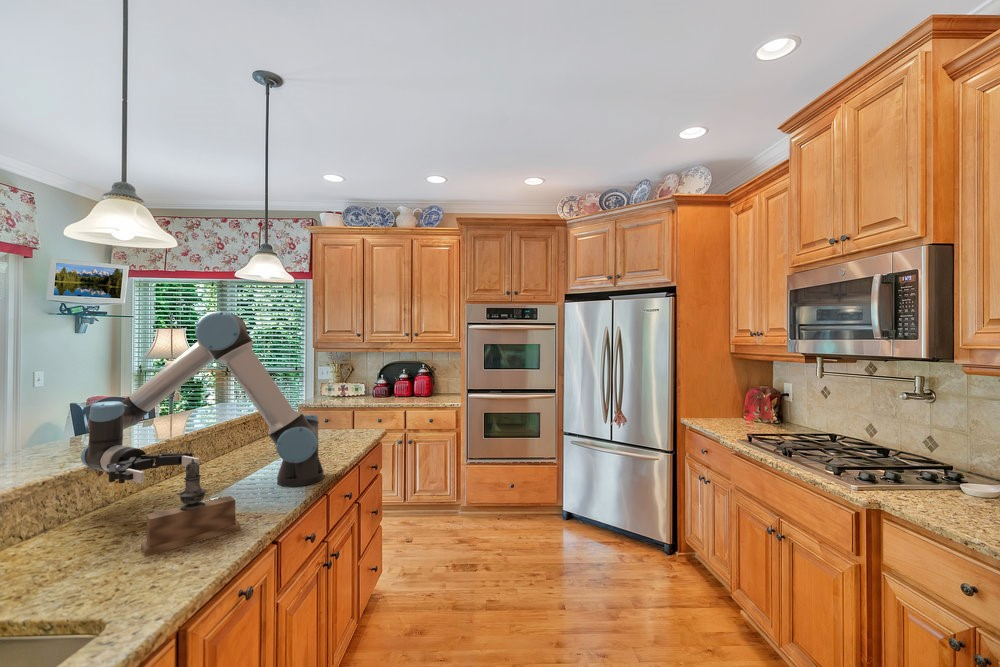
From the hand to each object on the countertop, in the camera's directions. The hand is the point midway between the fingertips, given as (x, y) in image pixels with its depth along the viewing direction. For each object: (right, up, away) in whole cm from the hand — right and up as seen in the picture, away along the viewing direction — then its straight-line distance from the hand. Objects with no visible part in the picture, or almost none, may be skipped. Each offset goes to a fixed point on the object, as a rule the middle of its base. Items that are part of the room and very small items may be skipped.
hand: (171, 470), depth 120 cm
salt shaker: (+8, -8, -5) cm, 13 cm away
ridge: (+9, -16, -5) cm, 19 cm away
